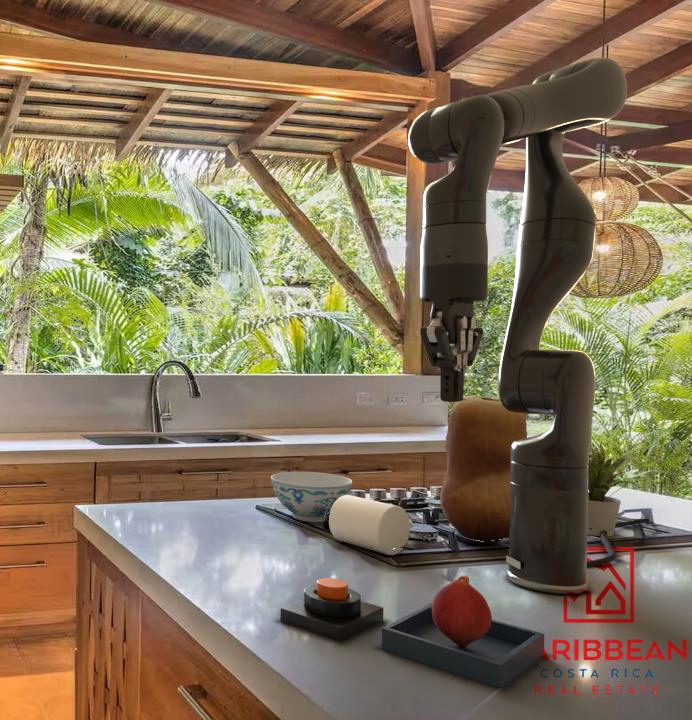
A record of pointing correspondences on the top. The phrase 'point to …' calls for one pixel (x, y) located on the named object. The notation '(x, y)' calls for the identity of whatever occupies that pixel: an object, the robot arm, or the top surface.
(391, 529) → the mug
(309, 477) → the chinaware
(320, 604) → the panel
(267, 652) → the top surface
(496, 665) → the tray
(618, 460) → the house plant
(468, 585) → the onion
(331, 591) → the button
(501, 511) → the butternut squash
